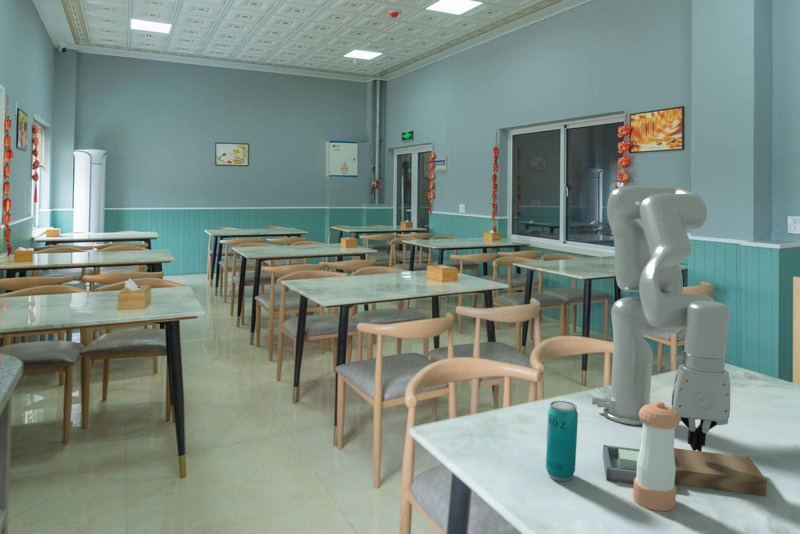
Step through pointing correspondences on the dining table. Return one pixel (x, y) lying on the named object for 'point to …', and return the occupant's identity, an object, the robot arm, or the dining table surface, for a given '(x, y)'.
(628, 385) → the robot arm
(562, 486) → the dining table surface
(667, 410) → the salt shaker
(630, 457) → the tile
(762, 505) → the dining table surface
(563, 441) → the beverage can
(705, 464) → the board
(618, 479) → the tray
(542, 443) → the dining table surface
